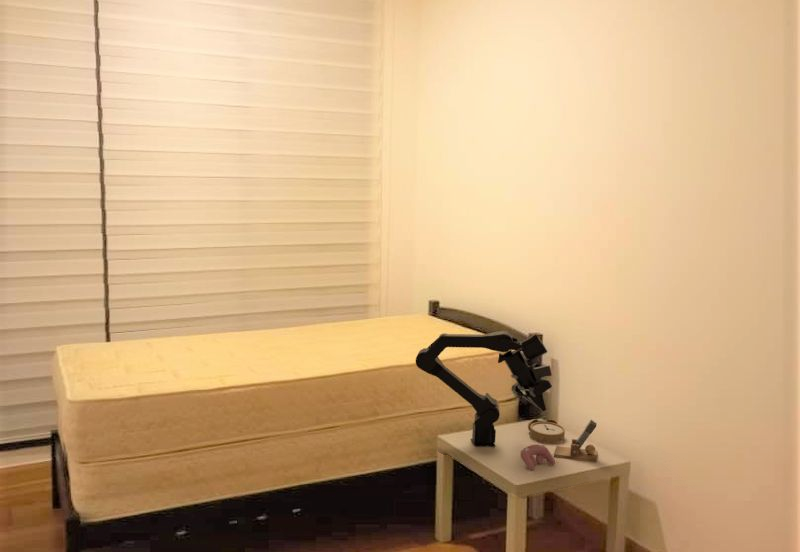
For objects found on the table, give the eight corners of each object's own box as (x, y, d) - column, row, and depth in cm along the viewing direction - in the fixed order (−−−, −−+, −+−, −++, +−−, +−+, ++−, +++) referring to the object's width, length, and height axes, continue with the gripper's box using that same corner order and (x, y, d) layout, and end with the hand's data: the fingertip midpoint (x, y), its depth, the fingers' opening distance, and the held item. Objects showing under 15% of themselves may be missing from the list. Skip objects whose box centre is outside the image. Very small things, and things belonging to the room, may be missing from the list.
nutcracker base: (553, 456, 227) (554, 443, 226) (556, 448, 234) (556, 436, 234) (596, 462, 223) (597, 449, 223) (597, 453, 231) (597, 440, 230)
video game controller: (547, 466, 223) (540, 443, 225) (557, 464, 219) (550, 440, 221) (522, 472, 217) (516, 448, 219) (532, 470, 214) (525, 446, 216)
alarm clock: (535, 435, 238) (524, 413, 252) (533, 449, 239) (522, 426, 254) (569, 435, 239) (556, 413, 253) (567, 449, 240) (555, 426, 255)
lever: (571, 449, 227) (590, 422, 225) (571, 446, 230) (591, 419, 228) (576, 453, 227) (596, 426, 225) (577, 450, 230) (596, 423, 228)
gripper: (551, 354, 226) (577, 398, 226) (527, 354, 244) (551, 395, 244) (522, 373, 223) (549, 418, 223) (500, 372, 241) (525, 413, 241)
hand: (544, 410), depth 233 cm, fingers closed
